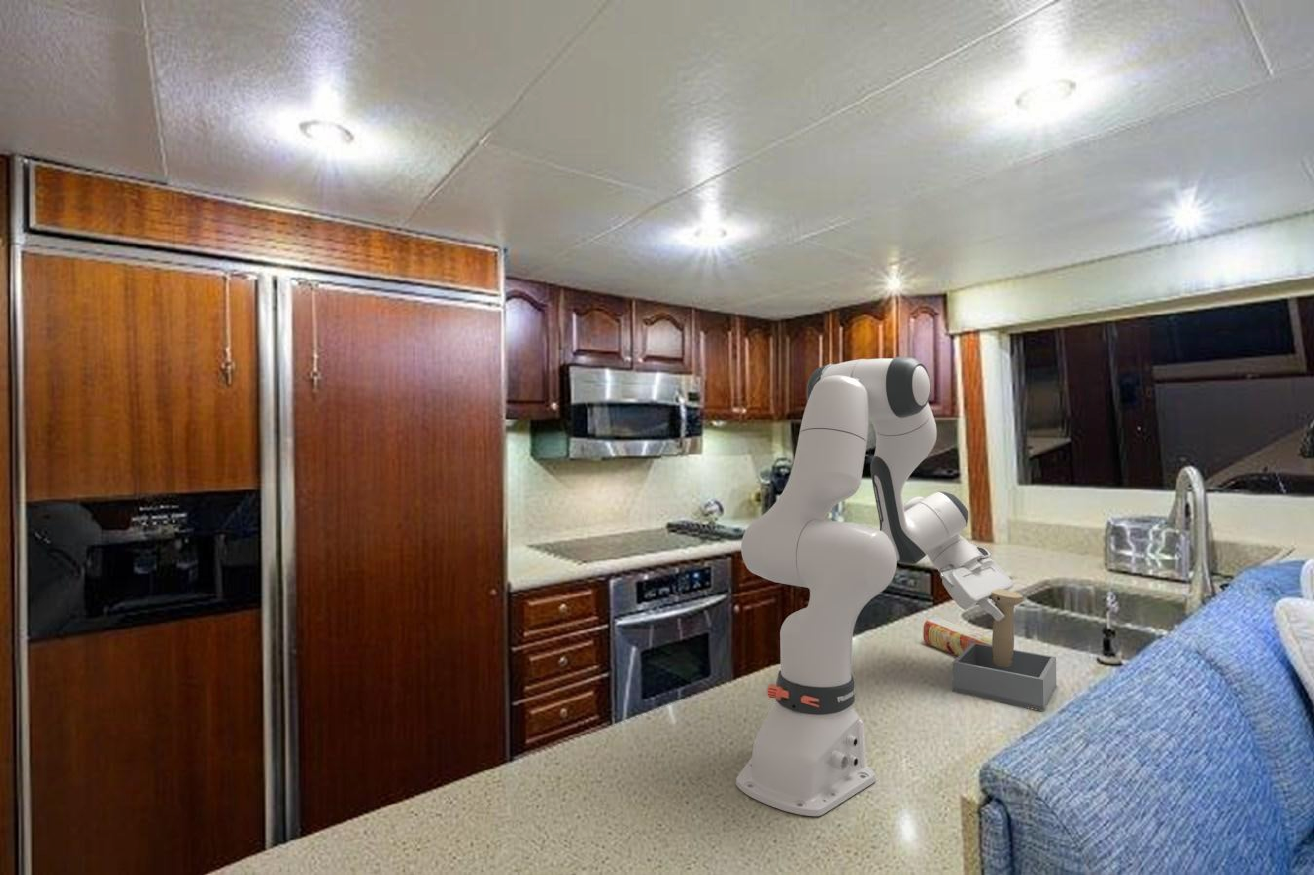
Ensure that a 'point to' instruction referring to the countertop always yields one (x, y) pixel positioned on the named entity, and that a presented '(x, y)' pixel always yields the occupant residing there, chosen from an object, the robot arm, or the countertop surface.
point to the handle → (1004, 626)
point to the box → (1005, 677)
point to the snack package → (951, 636)
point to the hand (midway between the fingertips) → (1007, 616)
